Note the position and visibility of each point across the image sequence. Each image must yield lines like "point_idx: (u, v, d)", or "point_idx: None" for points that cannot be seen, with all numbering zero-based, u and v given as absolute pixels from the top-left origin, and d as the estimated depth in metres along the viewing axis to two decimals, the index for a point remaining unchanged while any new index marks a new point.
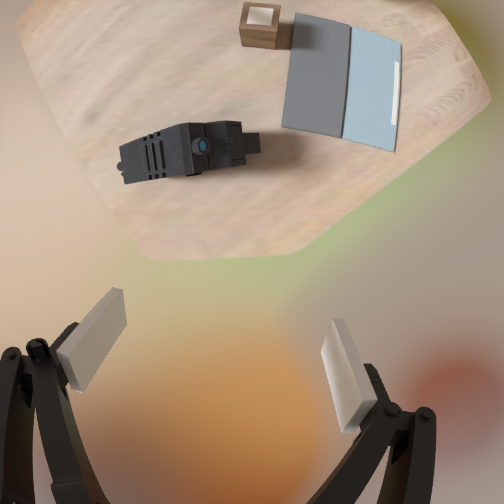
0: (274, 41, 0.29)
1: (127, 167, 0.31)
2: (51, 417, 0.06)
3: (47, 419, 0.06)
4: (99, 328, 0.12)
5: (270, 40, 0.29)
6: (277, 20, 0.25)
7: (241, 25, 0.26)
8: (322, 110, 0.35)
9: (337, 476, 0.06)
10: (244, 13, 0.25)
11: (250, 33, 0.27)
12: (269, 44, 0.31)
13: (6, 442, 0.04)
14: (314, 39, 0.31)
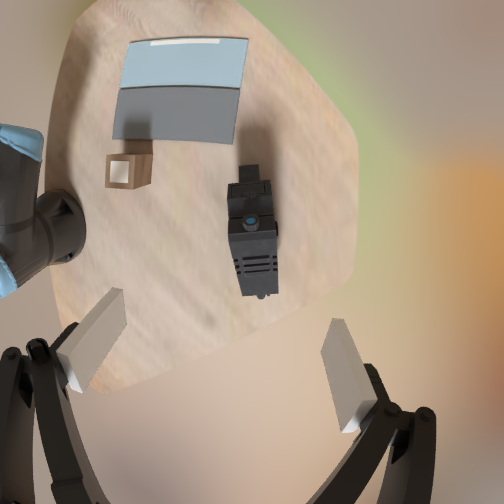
0: (144, 155, 0.37)
1: (263, 289, 0.39)
2: (51, 417, 0.06)
3: (47, 419, 0.06)
4: (99, 328, 0.12)
5: (144, 159, 0.37)
6: (123, 156, 0.34)
7: (130, 187, 0.35)
8: (213, 107, 0.37)
9: (337, 476, 0.06)
10: (117, 185, 0.35)
11: (137, 178, 0.36)
12: (148, 159, 0.39)
13: (6, 442, 0.04)
14: (138, 119, 0.38)
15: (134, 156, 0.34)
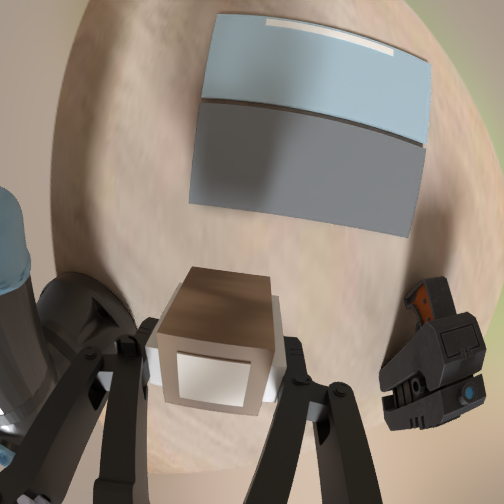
0: (271, 307, 0.14)
1: None
2: (122, 416, 0.07)
3: (117, 417, 0.07)
4: None
5: None
6: (225, 347, 0.11)
7: (248, 412, 0.12)
8: (389, 172, 0.21)
9: (265, 455, 0.07)
10: (205, 406, 0.12)
11: None
12: None
13: (55, 442, 0.05)
14: (249, 171, 0.22)
15: (271, 352, 0.11)
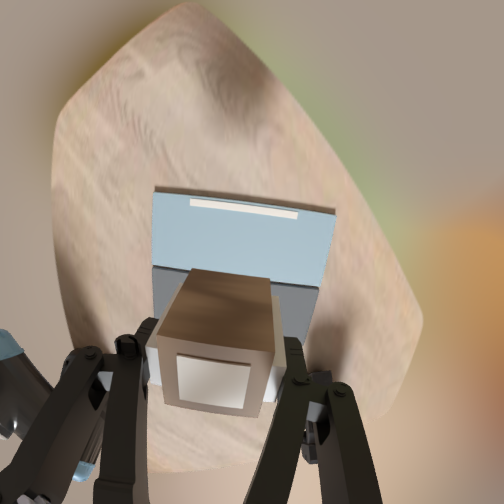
0: (271, 309, 0.14)
1: None
2: (122, 416, 0.07)
3: (117, 417, 0.07)
4: None
5: None
6: (225, 349, 0.11)
7: (248, 414, 0.12)
8: (285, 309, 0.34)
9: (265, 455, 0.07)
10: (205, 408, 0.12)
11: None
12: None
13: (55, 442, 0.05)
14: None
15: (271, 355, 0.11)
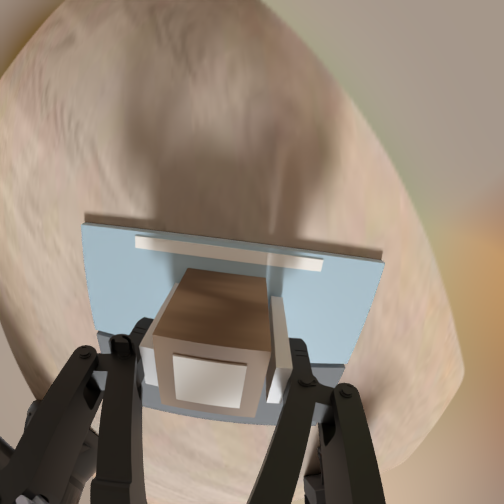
0: (267, 309, 0.14)
1: None
2: (117, 415, 0.07)
3: (112, 416, 0.07)
4: None
5: None
6: (221, 349, 0.11)
7: (245, 414, 0.12)
8: None
9: (270, 456, 0.07)
10: (202, 407, 0.12)
11: None
12: None
13: (52, 441, 0.05)
14: (155, 390, 0.21)
15: (267, 354, 0.11)
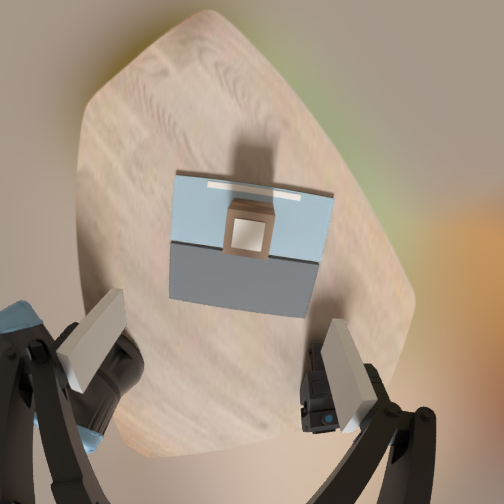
0: (273, 210, 0.31)
1: None
2: (51, 417, 0.06)
3: (47, 419, 0.06)
4: (99, 327, 0.12)
5: None
6: (255, 214, 0.28)
7: (263, 257, 0.29)
8: (288, 283, 0.38)
9: (337, 476, 0.06)
10: (242, 253, 0.29)
11: None
12: None
13: (6, 442, 0.04)
14: (201, 284, 0.39)
15: (274, 217, 0.28)
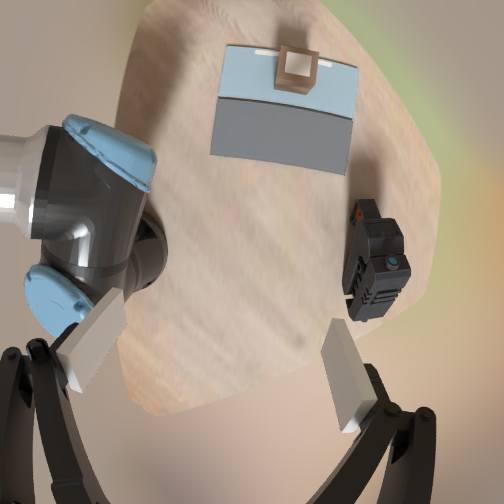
0: None
1: (374, 314, 0.39)
2: (51, 417, 0.06)
3: (47, 419, 0.06)
4: (99, 328, 0.12)
5: None
6: (303, 50, 0.27)
7: (311, 81, 0.28)
8: (328, 135, 0.37)
9: (337, 476, 0.06)
10: (294, 77, 0.28)
11: None
12: None
13: (6, 442, 0.04)
14: (245, 136, 0.38)
15: (318, 53, 0.27)
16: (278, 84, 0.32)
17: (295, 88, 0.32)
